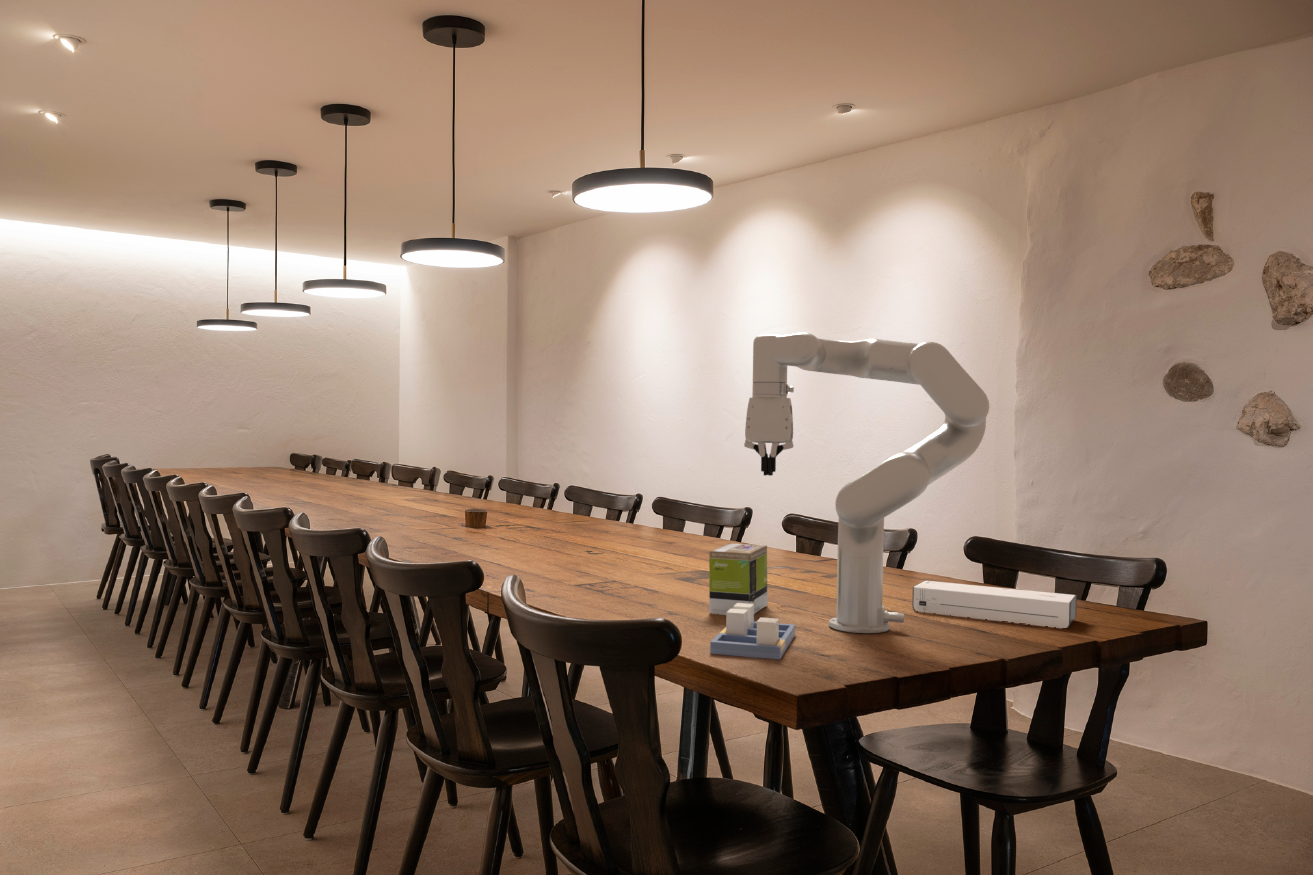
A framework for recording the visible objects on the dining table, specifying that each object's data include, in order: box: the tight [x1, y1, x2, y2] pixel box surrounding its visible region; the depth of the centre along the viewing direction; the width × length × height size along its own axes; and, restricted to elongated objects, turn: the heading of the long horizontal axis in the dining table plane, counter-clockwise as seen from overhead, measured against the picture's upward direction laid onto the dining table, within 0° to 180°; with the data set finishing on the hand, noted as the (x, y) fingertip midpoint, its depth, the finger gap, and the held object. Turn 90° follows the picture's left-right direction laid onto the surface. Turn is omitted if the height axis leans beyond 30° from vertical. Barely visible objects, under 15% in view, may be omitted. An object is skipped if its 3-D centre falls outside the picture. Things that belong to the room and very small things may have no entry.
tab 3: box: [756, 617, 780, 645], centre depth 169 cm, size 4×4×5 cm
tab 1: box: [725, 609, 748, 635], centre depth 177 cm, size 4×4×5 cm
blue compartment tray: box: [709, 620, 796, 661], centre depth 176 cm, size 13×21×2 cm, turn 164°
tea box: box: [708, 543, 769, 616], centre depth 210 cm, size 15×10×15 cm, turn 157°
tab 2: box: [733, 603, 755, 628], centre depth 183 cm, size 4×4×5 cm
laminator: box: [912, 580, 1078, 629], centre depth 208 cm, size 34×12×6 cm, turn 59°
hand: (768, 475), depth 198 cm, fingers closed
